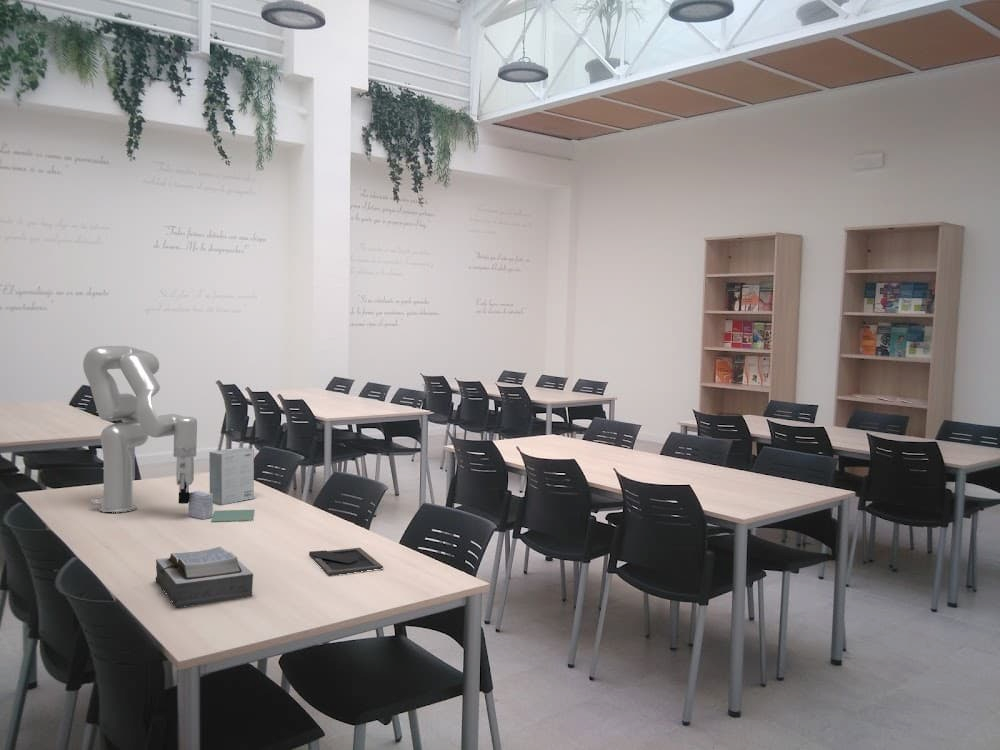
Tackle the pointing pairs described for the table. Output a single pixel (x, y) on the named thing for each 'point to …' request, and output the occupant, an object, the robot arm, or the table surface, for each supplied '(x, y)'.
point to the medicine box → (200, 505)
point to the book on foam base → (203, 577)
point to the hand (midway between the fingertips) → (183, 502)
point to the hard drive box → (231, 475)
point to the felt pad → (232, 515)
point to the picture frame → (344, 561)
